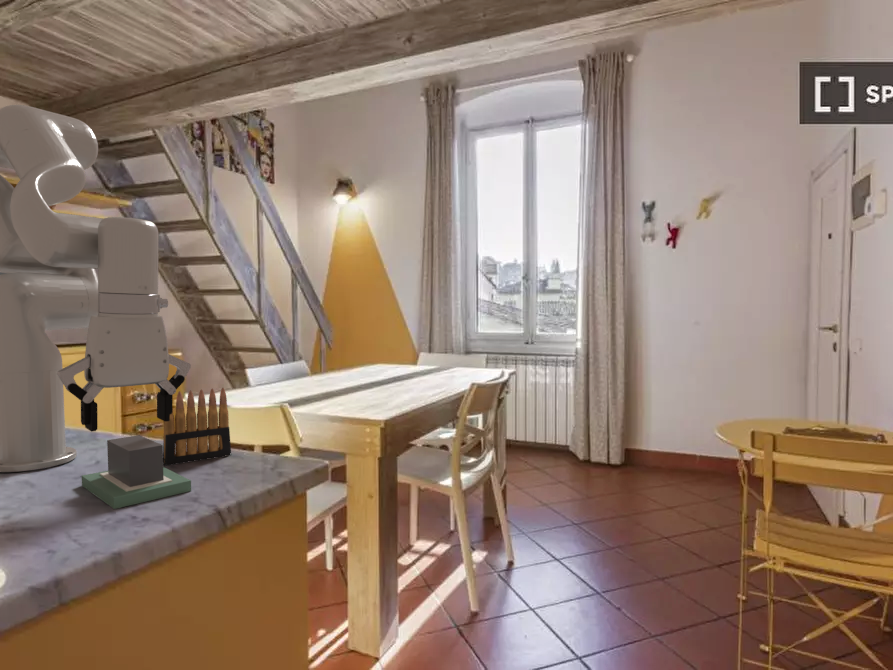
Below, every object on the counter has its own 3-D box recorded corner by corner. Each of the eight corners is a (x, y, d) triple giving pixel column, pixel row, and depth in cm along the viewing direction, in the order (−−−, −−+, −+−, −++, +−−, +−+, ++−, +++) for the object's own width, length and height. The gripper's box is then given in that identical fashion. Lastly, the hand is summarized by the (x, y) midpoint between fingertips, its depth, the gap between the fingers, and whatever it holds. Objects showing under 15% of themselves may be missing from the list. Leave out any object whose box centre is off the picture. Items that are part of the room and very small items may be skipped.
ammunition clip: (165, 465, 96) (163, 393, 95) (162, 463, 97) (160, 392, 97) (231, 455, 102) (230, 387, 101) (228, 453, 104) (226, 386, 103)
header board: (81, 485, 85) (80, 454, 85) (153, 471, 93) (152, 442, 92) (114, 509, 76) (112, 473, 75) (191, 490, 83) (190, 458, 83)
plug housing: (108, 473, 86) (107, 440, 85) (140, 467, 89) (139, 435, 88) (130, 487, 79) (128, 451, 79) (163, 479, 83) (162, 445, 82)
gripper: (179, 305, 92) (178, 412, 93) (50, 304, 79) (51, 427, 80) (200, 308, 87) (199, 421, 88) (65, 307, 74) (66, 439, 75)
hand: (128, 424), depth 84 cm, fingers open, 9 cm apart
